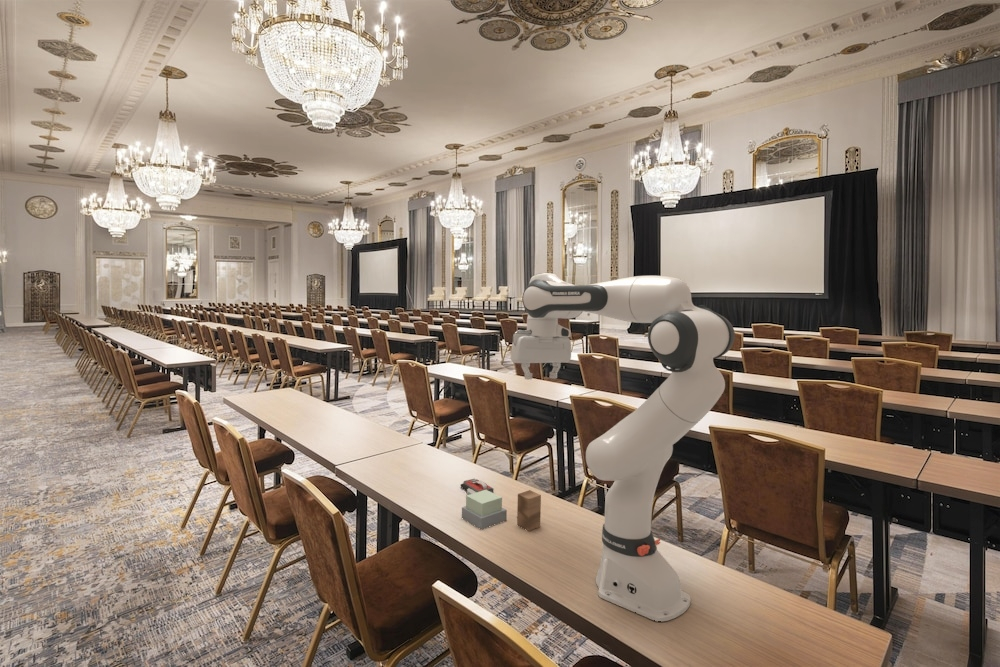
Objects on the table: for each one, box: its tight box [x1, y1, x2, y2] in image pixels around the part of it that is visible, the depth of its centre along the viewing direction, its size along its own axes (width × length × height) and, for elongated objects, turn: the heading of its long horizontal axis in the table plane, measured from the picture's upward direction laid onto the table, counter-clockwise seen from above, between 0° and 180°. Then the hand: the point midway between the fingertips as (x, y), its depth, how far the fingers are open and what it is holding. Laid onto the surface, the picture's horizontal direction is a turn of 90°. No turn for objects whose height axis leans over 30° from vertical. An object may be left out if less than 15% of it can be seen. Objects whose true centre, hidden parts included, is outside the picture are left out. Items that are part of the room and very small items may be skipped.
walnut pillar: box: [516, 489, 542, 532], centre depth 159 cm, size 5×5×10 cm
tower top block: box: [465, 490, 503, 516], centre depth 162 cm, size 8×8×4 cm
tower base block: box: [461, 505, 508, 530], centre depth 163 cm, size 10×10×4 cm
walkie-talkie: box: [460, 478, 494, 496], centre depth 182 cm, size 9×4×20 cm
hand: (541, 378), depth 148 cm, fingers open, 8 cm apart
